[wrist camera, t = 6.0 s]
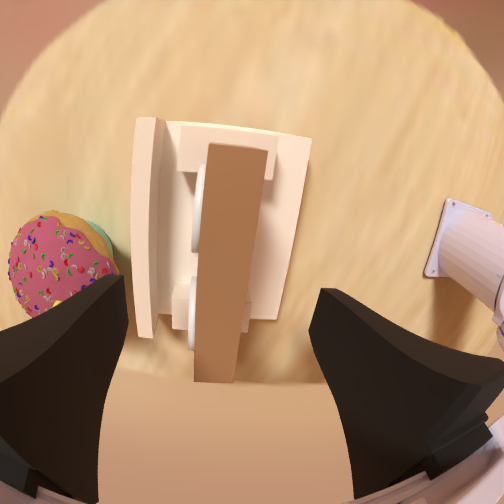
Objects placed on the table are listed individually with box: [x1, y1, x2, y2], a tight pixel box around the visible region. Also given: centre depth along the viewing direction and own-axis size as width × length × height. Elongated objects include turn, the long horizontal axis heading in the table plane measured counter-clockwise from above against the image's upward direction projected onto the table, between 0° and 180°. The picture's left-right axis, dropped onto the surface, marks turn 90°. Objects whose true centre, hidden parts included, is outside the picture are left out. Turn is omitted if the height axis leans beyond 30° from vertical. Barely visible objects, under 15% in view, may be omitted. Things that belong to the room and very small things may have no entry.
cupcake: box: [8, 210, 120, 318], centre depth 13 cm, size 9×8×12 cm
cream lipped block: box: [130, 117, 312, 338], centre depth 17 cm, size 10×13×5 cm
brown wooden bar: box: [188, 142, 268, 383], centre depth 13 cm, size 2×11×5 cm, turn 172°
